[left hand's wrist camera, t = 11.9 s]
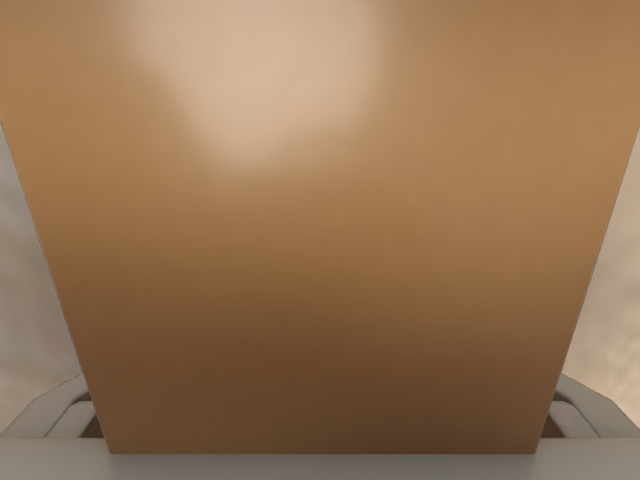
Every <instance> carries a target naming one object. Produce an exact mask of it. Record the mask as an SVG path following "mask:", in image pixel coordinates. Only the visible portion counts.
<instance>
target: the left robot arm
mask: <svg viewBox="0 0 640 480" xmlns="http://www.w3.org/2000/svg"><path fill="white" fill-rule="evenodd" d="M0 480H640V429H639V428H638V427H637V426H636V425H635V424H634V423H633V422H632V421H631V420H630V419H629V418H628V417H627V415H626V414H625V413H624V412H623V411H622V410H621V409H620V408H619V407H618V406H617V405H616V404H615V403H614V402H613V401H612V400H611V399H609V398H607V397H605V396H603V395H601V394H599V393H598V392H596V391H594V390H592V389H590V388H588V387H586V386H584V385H582V384H581V383H579V382H577V381H575V380H573V379H571V378H569V377H567V376H566V375H564V374H562V373H561V374H560V377H559V381H558V384H557V387H556V390H555V393H554V396H553V399H552V403H551V406H550V409H549V412H548V415H547V418H546V421H545V425H544V428H543V431H542V434H541V437H540V440H539V443H538V446H537V450H536V453H535V454H110V453H109V451H108V448H107V445H106V442H105V439H104V436H103V433H102V430H101V427H100V424H99V421H98V418H97V415H96V411H95V408H94V405H93V402H92V399H91V396H90V393H89V390H88V387H87V384H86V381H85V378H84V375H83V373H82V374H80V375H78V376H76V377H75V378H73V379H71V380H69V381H67V382H65V383H63V384H61V385H60V386H58V387H56V388H54V389H52V390H50V391H48V392H46V393H45V394H43V395H41V396H39V397H37V398H35V399H33V400H32V402H31V403H30V404H29V405H28V406H27V407H26V408H25V409H24V410H23V411H22V412H21V413H20V414H19V415H18V416H17V417H16V418H15V419H14V421H13V422H12V423H11V424H10V425H9V426H8V427H7V428H6V429H5V430H4V431H3V432H2V433H1V434H0Z"/></svg>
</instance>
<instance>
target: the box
mask: <svg viewBox="0 0 640 480" xmlns="http://www.w3.org/2000/svg"><path fill="white" fill-rule="evenodd" d="M0 122H1V125H2V128H3V131H4V134H5V137H6V140H7V143H8V146H9V149H10V152H11V155H12V158H13V162H14V165H15V168H16V171H17V174H18V177H19V180H20V183H21V186H22V189H23V192H24V195H25V198H26V201H27V204H28V207H29V210H30V213H31V216H32V219H33V222H34V226H35V229H36V232H37V235H38V238H39V241H40V244H41V247H42V250H43V253H44V256H45V259H46V262H47V265H48V268H49V271H50V274H51V277H52V280H53V283H54V287H55V290H56V293H57V296H58V299H59V302H60V305H61V308H62V311H63V314H64V317H65V320H66V323H67V326H68V329H69V332H70V335H71V338H72V341H73V344H74V347H75V351H76V354H77V357H78V360H79V363H80V366H81V369H82V372H83V375H84V378H85V381H86V384H87V387H88V390H89V393H90V396H91V399H92V402H93V405H94V408H95V411H96V415H97V418H98V421H99V424H100V427H101V430H102V433H103V436H104V439H105V442H106V445H107V448H108V451H109V453H110V454H535V453H536V450H537V446H538V443H539V440H540V437H541V434H542V431H543V428H544V425H545V421H546V418H547V415H548V412H549V409H550V406H551V403H552V399H553V396H554V393H555V390H556V387H557V384H558V381H559V377H560V374H561V371H562V368H563V365H564V362H565V359H566V355H567V352H568V349H569V346H570V343H571V340H572V337H573V334H574V330H575V327H576V324H577V321H578V318H579V315H580V312H581V308H582V305H583V302H584V299H585V296H586V293H587V290H588V286H589V283H590V280H591V277H592V274H593V271H594V268H595V264H596V261H597V258H598V255H599V252H600V249H601V246H602V243H603V239H604V236H605V233H606V230H607V227H608V224H609V221H610V217H611V214H612V211H613V208H614V205H615V202H616V199H617V195H618V192H619V189H620V186H621V183H622V180H623V177H624V173H625V170H626V167H627V164H628V161H629V158H630V155H631V151H632V148H633V145H634V142H635V139H636V136H637V133H638V130H639V126H640V0H0Z"/></svg>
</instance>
